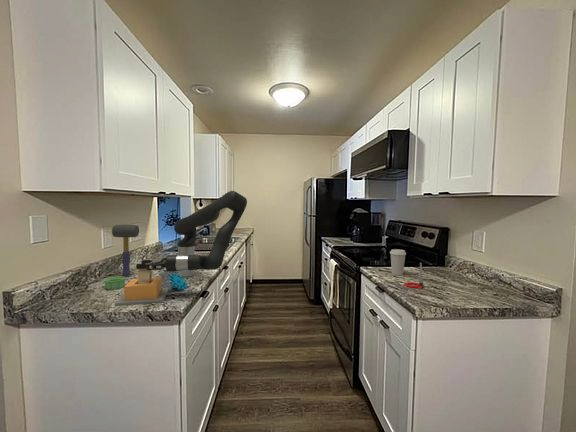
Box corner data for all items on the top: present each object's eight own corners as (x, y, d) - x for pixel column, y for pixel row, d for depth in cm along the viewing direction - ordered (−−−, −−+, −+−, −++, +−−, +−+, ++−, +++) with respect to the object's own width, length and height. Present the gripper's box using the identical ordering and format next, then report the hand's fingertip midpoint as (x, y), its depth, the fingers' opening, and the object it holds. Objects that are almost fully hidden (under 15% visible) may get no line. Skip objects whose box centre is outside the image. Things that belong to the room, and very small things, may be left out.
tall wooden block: (140, 293, 126) (141, 267, 127) (150, 293, 128) (152, 267, 128) (137, 295, 122) (138, 268, 123) (148, 295, 123) (149, 268, 124)
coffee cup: (386, 274, 172) (387, 250, 172) (392, 271, 180) (393, 248, 179) (402, 277, 166) (403, 252, 165) (407, 274, 173) (408, 250, 173)
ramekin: (116, 290, 134) (115, 281, 134) (99, 289, 135) (99, 280, 135) (129, 285, 143) (129, 276, 143) (114, 284, 144) (114, 275, 144)
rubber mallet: (111, 278, 155) (110, 224, 153) (117, 274, 162) (117, 223, 161) (135, 277, 156) (134, 225, 155) (140, 274, 164) (139, 224, 162)
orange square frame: (128, 292, 132) (128, 277, 131) (169, 289, 136) (169, 275, 136) (114, 305, 114) (114, 289, 114) (161, 302, 119) (161, 286, 118)
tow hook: (402, 287, 147) (421, 289, 142) (401, 262, 147) (420, 264, 142) (406, 283, 154) (424, 286, 149) (405, 260, 154) (424, 262, 148)
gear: (177, 289, 131) (167, 273, 134) (169, 297, 132) (159, 281, 135) (192, 286, 142) (182, 271, 144) (185, 293, 143) (175, 278, 145)
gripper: (180, 252, 135) (143, 253, 131) (175, 258, 121) (134, 259, 117) (180, 267, 135) (143, 269, 131) (175, 275, 121) (134, 276, 117)
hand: (139, 264), depth 124 cm, fingers open, 7 cm apart
